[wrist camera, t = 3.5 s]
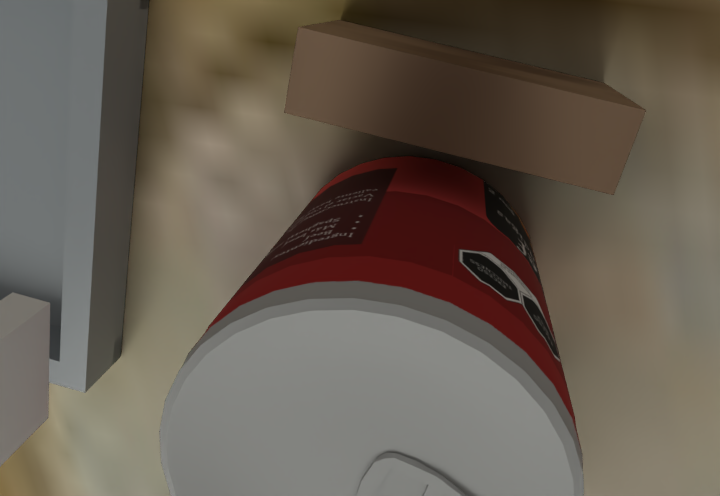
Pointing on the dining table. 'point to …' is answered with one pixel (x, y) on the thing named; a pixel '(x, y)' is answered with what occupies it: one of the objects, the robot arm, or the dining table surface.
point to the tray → (70, 169)
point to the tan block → (463, 103)
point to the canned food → (381, 354)
